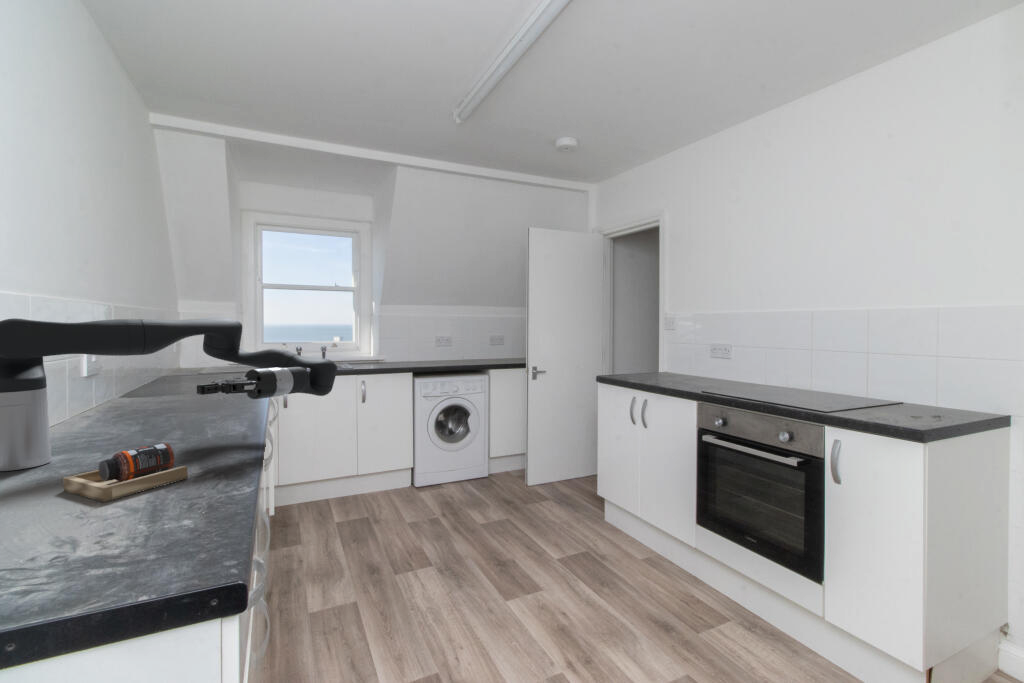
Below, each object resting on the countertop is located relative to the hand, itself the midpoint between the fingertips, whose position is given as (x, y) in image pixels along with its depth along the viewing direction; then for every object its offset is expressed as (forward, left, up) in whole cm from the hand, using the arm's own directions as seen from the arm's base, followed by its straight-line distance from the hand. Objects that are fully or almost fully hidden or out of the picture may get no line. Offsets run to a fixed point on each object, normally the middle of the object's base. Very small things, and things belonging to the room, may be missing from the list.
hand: (198, 389), depth 110 cm
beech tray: (+2, -16, -16) cm, 23 cm away
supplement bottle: (+1, -8, -13) cm, 15 cm away
